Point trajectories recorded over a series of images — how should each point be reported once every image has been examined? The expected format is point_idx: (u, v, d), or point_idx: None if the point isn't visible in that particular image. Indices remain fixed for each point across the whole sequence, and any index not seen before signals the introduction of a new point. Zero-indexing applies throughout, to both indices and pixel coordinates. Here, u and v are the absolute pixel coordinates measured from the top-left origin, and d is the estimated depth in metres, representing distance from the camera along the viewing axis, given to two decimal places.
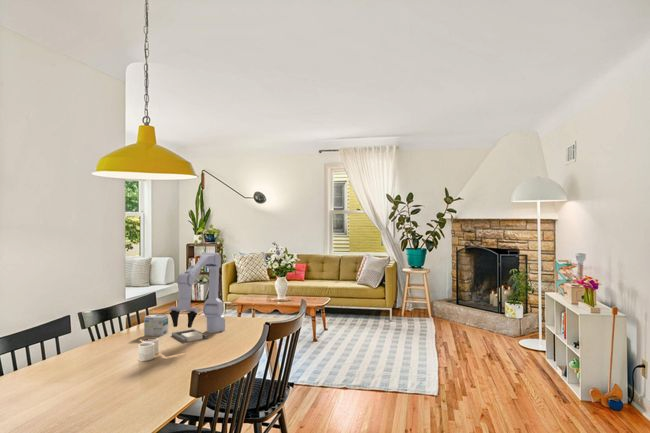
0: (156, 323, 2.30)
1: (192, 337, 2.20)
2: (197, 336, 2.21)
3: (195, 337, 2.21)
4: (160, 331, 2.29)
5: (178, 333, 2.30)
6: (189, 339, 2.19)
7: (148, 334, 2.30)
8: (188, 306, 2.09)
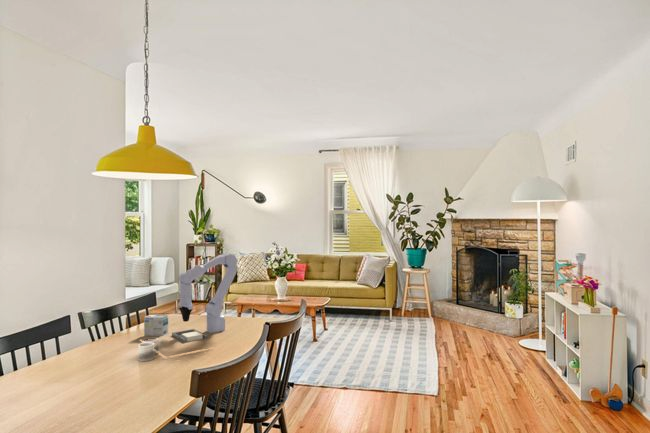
0: (156, 323, 2.30)
1: (192, 337, 2.20)
2: (197, 336, 2.21)
3: (195, 337, 2.21)
4: (160, 331, 2.29)
5: (178, 333, 2.30)
6: (189, 339, 2.19)
7: (148, 334, 2.30)
8: (186, 303, 2.27)
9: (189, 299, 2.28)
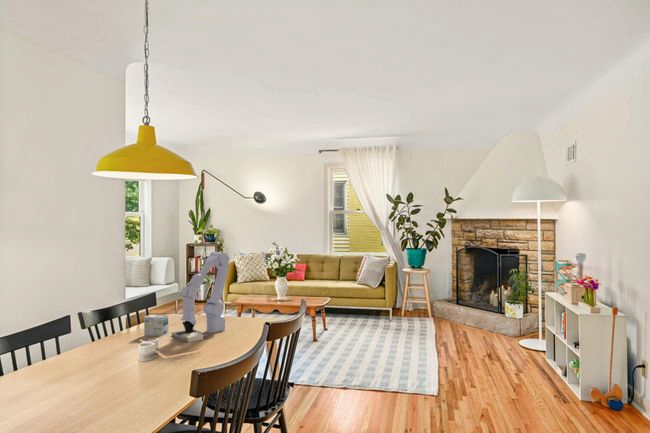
0: (156, 323, 2.30)
1: (193, 338, 2.19)
2: (198, 337, 2.20)
3: (196, 338, 2.20)
4: (160, 331, 2.29)
5: (178, 333, 2.30)
6: (190, 340, 2.18)
7: (148, 334, 2.30)
8: (189, 317, 2.24)
9: (192, 313, 2.25)
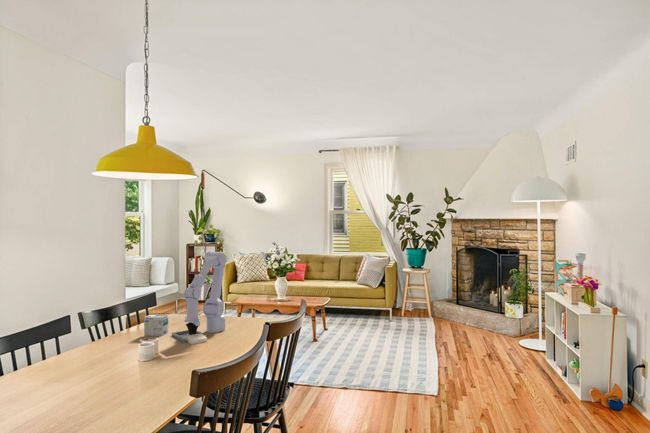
0: (156, 323, 2.30)
1: (197, 340, 2.15)
2: (202, 339, 2.17)
3: (200, 340, 2.16)
4: (160, 331, 2.29)
5: (178, 333, 2.30)
6: (193, 342, 2.14)
7: (148, 334, 2.30)
8: (193, 319, 2.20)
9: (196, 315, 2.22)
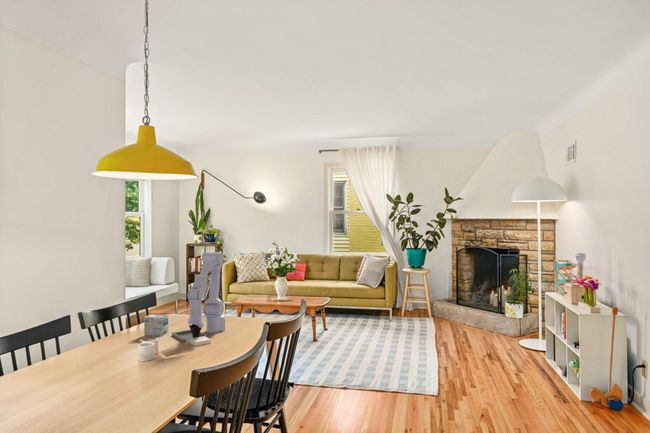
0: (156, 323, 2.30)
1: (200, 342, 2.12)
2: (205, 341, 2.13)
3: (203, 342, 2.13)
4: (160, 331, 2.29)
5: (178, 333, 2.30)
6: (197, 344, 2.11)
7: (148, 334, 2.30)
8: (196, 320, 2.17)
9: (199, 316, 2.18)
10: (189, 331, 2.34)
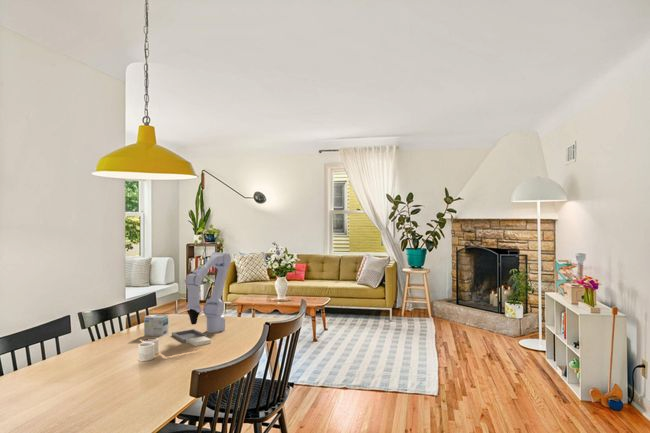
0: (156, 323, 2.30)
1: (200, 342, 2.12)
2: (205, 341, 2.13)
3: (203, 342, 2.13)
4: (160, 331, 2.29)
5: (178, 333, 2.30)
6: (197, 344, 2.11)
7: (148, 334, 2.30)
8: (194, 305, 2.21)
9: (197, 301, 2.22)
10: (189, 331, 2.34)
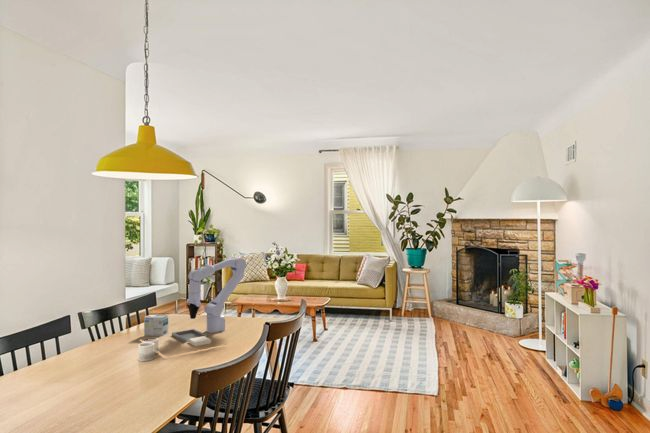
0: (156, 323, 2.30)
1: (200, 342, 2.12)
2: (205, 341, 2.13)
3: (203, 342, 2.13)
4: (160, 331, 2.29)
5: (178, 333, 2.30)
6: (197, 344, 2.11)
7: (148, 334, 2.30)
8: (195, 300, 2.29)
9: (198, 296, 2.30)
10: (189, 331, 2.34)
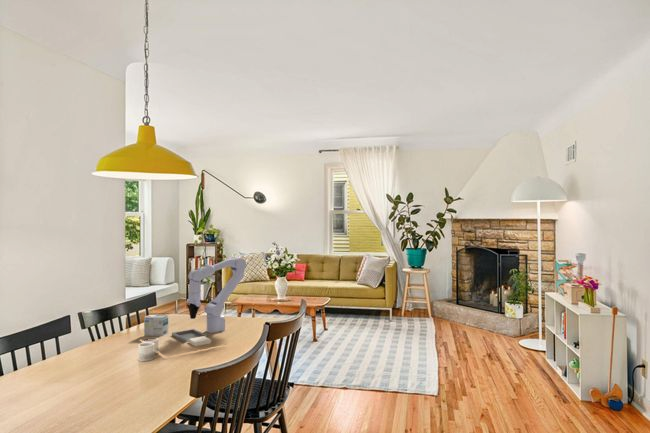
0: (156, 323, 2.30)
1: (200, 342, 2.12)
2: (205, 341, 2.13)
3: (203, 342, 2.13)
4: (160, 331, 2.29)
5: (178, 333, 2.30)
6: (197, 344, 2.11)
7: (148, 334, 2.30)
8: (195, 300, 2.29)
9: (198, 296, 2.30)
10: (189, 331, 2.34)
